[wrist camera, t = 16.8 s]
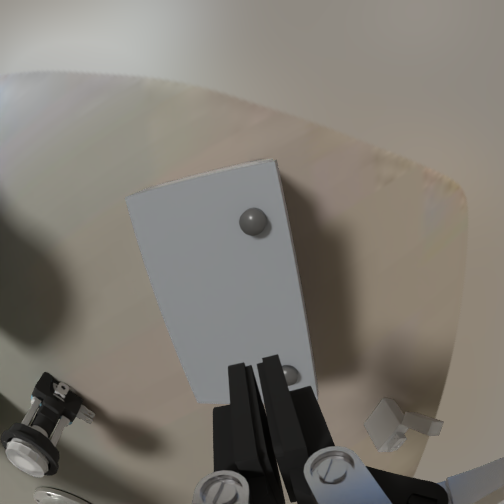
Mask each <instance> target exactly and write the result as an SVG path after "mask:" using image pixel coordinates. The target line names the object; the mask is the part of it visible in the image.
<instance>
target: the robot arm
mask: <svg viewBox="0 0 504 504" xmlns="http://www.w3.org/2000/svg"><path fill="white" fill-rule="evenodd" d="M262 360H263V362H262V363H258V364H257V369H258V374H259V379H260V384H261V389H262V394H263V399H264V404H265V409H266V412H265V409H264V405H263V402H262V399H261V395H260V392H259V388H258V385H257V382H256V378H255V375H254V371H253V368H252V365H249V366H245V363H244V362H243V363H238V364H234V365H229V366H228V379H229V394H230V405H226V406H220V407H215V408H214V409H213V451H214V472H213V473H211V474H208V475H207V476H205V477H204V478H202V479H201V480H200V481H199V483H198V484H197V486H196V488H195V491H194V495H193V500H192V504H285V499H284V494H283V489H282V485H281V480H280V475H279V471H278V466H279V469H280V472H281V475H282V478H283V481H284V484H285V487H286V490H287V493H288V496H289V499H290V502H291V503H292V502H296V501H297V503H298V504H504V458H500V459H498V460H495V461H493V462H490V463H488V464H485V465H483V466H480V467H477V468H475V469H472V470H469V471H466V472H463V473H460V474H458V475H454V476H451V477H448V478H447V479H446V481H443V482H439V483H434V482H430V481H425V480H420V479H416V478H411V477H407V476H402V475H398V474H394V473H390V472H386V471H382V470H378V469H375V468H371V467H368V466H365V465H364V464H363V462H362V461H361V459H360V458H359V456H358V455H357V454H356V453H355V452H354V451H352V450H350V449H348V448H346V447H340V446H335V445H334V442H333V440H332V437H331V435H330V432H329V430H328V427H327V425H326V422H325V420H324V417H323V414H322V412H321V409H320V407H319V404H318V402H317V399H316V397H315V394H314V392H313V389H312V387H311V386H307V387H303V388H300V389H296V390H292V391H289V388H288V385H287V382H286V378H285V375H284V372H283V369H282V365H281V362H280V359H279V355H278V354H277V355H273V356H268V357H264V358H262ZM266 414H267V415H266ZM276 460H277V461H276ZM277 463H278V466H277ZM33 497H34V499H35V501H36V502H37V504H89V503H87V502H85V501H84V500H82V499H80V498H77V497H75V496H73V495H71V494H68V493H65V492H62V491H60V490H56V489H52V488H44V487H42V488H37V489H36V490H35V492H34V496H33Z"/></svg>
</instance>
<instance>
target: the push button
mask: <svg viewBox="0 0 504 504" xmlns="http://www.w3.org/2000/svg"><path fill="white" fill-rule="evenodd" d="M63 386H64V387H63ZM31 399H32V400H31V404H32V405H31V407H30V409H29V410H28V412H27V414H26V415H25V417H24V419H23V421H22V422H21V423H15V424H14V425H13V426H12V427H11V428H10V429H9V430H5V431H4V432H3V434H2V436H1V441H2V444H3V446H4V448H5V449H6V455H7V457H8V459H9V460H10V461H11V462H12V464H13V465H15V466H16V467H17V468H18V469H20V470H21V471H23V472H25V473H26V474H28V475H31V476H34V477H42V476H44V475H54V474H56V473H57V470H58V460H59V451H58V450H57V449H56V445H57V442H58V440H59V438H60V436H61V433H62V431H63V429H64V427H65V426H68V425H70V424H72V422H73V420H74V419H75V417H77V418H79V419H82V420H84V421H86V422H87V423H89V424H91V423H92V421H93V420H92V419H91V418H89V417H87V416H86V415H84V413H85V414H87V415H88V416H90V417H92V418H93V417H94V416H95V413H93V412H92V411H90V410H88V409H87V407H85V406H83V405H82V402H83V400H82V399H81V398H80V397H78V396H77V395H75V394H74V393H72V392H71V391H69V386H67V385H66V384H64V383H63V382H60V383H57V382H56V381H54V380H53V379H52V376H51V375H50V374H48V373H47V372H44V373H43V375H42V376H41V378H40V379H39V381H38V382H37V384H36V386H35V388H34V391H33V393H32V396H31ZM38 408H39V410H38V411H37V409H38ZM36 411H37V413H36ZM88 412H90V413H91V414H92V415H90V414H88ZM35 413H36V416H35V418H34V420H33V422H32V424H31V426H28V425H29V423H30V422H31V420H32V418H33V416H34V415H35ZM86 418H87V419H89V421H87V420H86ZM59 419H61V420H60V421H59V423H58V425H57V427H56V429H55V432H54V434H53V436H52V438H51V440H50V439H49V437H50V435H51V433H52V432H53V430H54V428H55V426H56V424H57V422H58V420H59Z"/></svg>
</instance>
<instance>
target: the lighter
mask: <svg viewBox="0 0 504 504" xmlns="http://www.w3.org/2000/svg"><path fill="white" fill-rule="evenodd" d="M442 425H443V421H440V420H437V419H434V418H431V417H428V416H425V415H422V414H419V413H416V412H405V415H404V414H403V412H402V411H401V409H400V408H399V406H398V405H397V403H396V402H395V401H394V399H389V398H383V399H382V400H381V401H380V403H379V404H378V406H377V407H376V408H375V410H374V411H373V413H372V414H371V415H370V417H369V418H368V419H367V421H366V422H365V423H364V426H365V428H366V430H367V432H368V434H369V435H370V437H371V439H372V441H373V443H374V445H375V447H376V449H377V451H378V452H392V451H394V450H398V449H399V448H400V446H401V445H402V444H403V443H404V442H405V441H406V439H407V438H406V436H405V435H404V434H405V432H406V431H407V430H408V429H409V428H411V429H413V430H416V431H418V432H421V433H423V434H426V435H429V436H436V435H439V434H440V431H441V428H442Z"/></svg>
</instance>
